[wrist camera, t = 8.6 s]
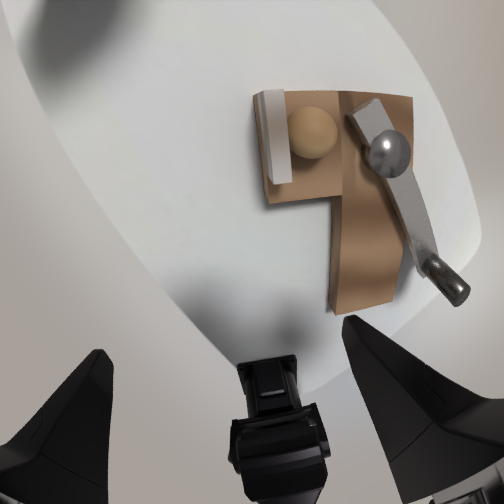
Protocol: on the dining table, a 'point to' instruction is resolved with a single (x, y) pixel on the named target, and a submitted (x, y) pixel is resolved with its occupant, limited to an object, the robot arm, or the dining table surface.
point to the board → (336, 184)
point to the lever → (404, 195)
